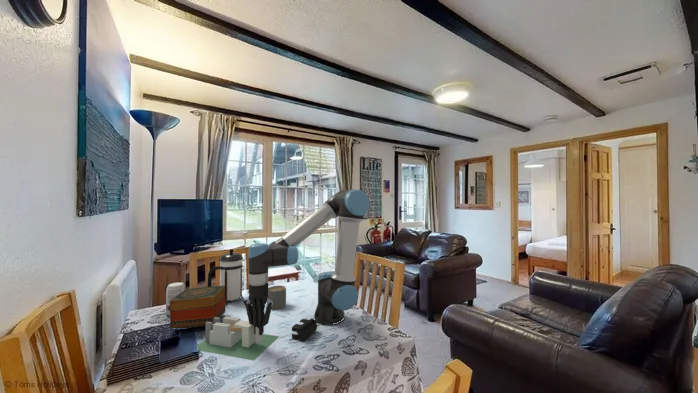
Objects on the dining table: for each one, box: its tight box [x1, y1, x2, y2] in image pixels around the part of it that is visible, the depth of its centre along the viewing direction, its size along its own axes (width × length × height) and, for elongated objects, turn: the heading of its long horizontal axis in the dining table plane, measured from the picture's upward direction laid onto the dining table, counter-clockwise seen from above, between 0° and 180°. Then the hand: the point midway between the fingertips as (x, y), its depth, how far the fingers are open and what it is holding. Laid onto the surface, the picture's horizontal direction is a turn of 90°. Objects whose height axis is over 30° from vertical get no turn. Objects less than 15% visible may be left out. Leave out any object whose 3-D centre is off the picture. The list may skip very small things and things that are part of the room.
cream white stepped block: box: [234, 319, 256, 348], centre depth 111 cm, size 7×5×8 cm
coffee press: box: [207, 248, 245, 306], centre depth 160 cm, size 17×16×30 cm
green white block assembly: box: [196, 316, 280, 361], centre depth 112 cm, size 28×18×9 cm, turn 75°
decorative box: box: [169, 285, 227, 329], centre depth 132 cm, size 20×22×16 cm
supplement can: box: [165, 281, 186, 317], centre depth 143 cm, size 8×8×15 cm
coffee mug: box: [268, 284, 287, 311], centre depth 154 cm, size 13×10×10 cm
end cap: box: [291, 318, 318, 343], centre depth 118 cm, size 10×7×7 cm
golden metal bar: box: [212, 322, 242, 331], centre depth 113 cm, size 17×3×1 cm, turn 75°
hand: (258, 342), depth 109 cm, fingers closed
